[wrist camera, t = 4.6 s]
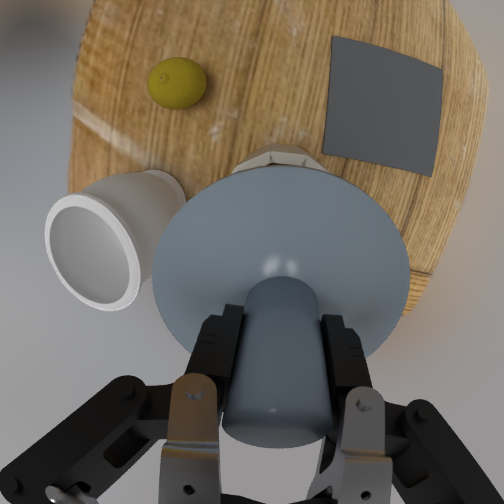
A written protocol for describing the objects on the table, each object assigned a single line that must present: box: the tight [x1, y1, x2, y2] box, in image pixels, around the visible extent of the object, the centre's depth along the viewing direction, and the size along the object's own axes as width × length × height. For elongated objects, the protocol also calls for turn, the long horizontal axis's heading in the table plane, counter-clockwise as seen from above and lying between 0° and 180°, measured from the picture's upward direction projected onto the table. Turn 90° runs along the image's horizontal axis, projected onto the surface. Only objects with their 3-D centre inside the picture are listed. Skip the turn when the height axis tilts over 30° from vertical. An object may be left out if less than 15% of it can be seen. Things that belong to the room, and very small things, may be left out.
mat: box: [322, 36, 443, 177], centre depth 24 cm, size 14×14×1 cm
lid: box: [152, 164, 410, 448], centre depth 10 cm, size 12×12×7 cm
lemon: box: [147, 57, 207, 110], centre depth 22 cm, size 6×6×8 cm
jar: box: [45, 170, 187, 311], centre depth 26 cm, size 11×10×15 cm
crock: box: [231, 144, 332, 174], centre depth 26 cm, size 11×11×9 cm
